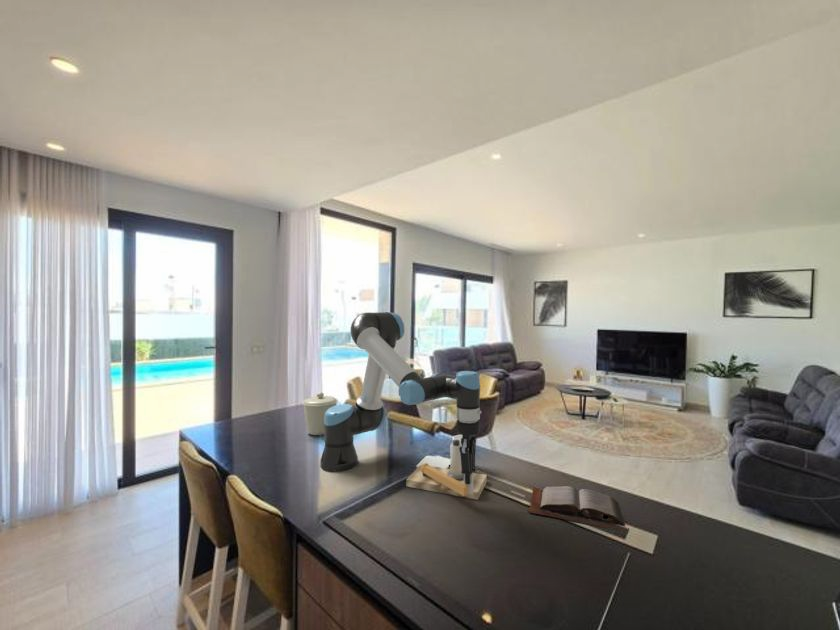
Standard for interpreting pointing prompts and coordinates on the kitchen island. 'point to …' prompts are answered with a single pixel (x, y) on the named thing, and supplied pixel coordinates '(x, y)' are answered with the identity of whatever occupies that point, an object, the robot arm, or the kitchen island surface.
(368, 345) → the robot arm
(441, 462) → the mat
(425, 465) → the wooden bar
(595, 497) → the book
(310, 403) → the canister
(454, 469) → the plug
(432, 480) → the socket board
